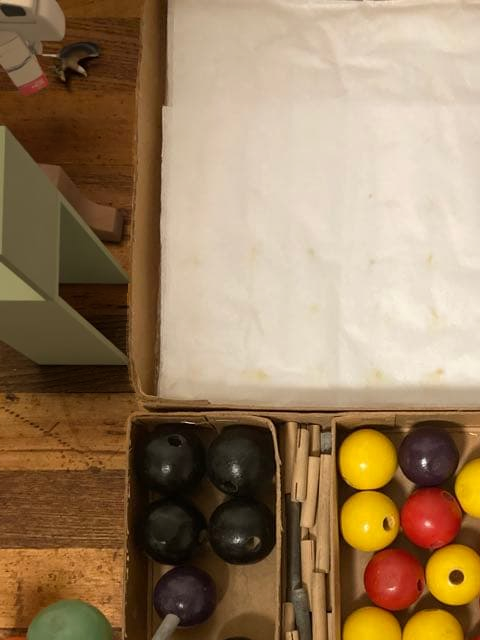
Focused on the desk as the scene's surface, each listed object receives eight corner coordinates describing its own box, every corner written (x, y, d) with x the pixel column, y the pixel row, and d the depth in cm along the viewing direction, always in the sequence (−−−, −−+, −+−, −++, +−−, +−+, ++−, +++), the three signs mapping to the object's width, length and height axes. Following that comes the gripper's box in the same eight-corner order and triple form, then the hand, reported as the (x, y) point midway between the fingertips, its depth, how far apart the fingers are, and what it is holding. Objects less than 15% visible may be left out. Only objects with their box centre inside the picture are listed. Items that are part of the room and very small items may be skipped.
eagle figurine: (81, 97, 151) (111, 56, 150) (48, 68, 146) (79, 24, 144) (67, 85, 156) (96, 45, 155) (33, 56, 150) (63, 14, 149)
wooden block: (124, 218, 151) (88, 168, 133) (121, 243, 151) (84, 195, 133) (75, 212, 151) (32, 161, 133) (71, 236, 151) (28, 188, 133)
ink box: (50, 85, 136) (19, 37, 124) (23, 98, 135) (-11, 50, 123) (27, 39, 136) (-6, -14, 124) (0, 52, 136) (-37, 0, 124)
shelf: (38, 364, 149) (-134, 253, 101) (40, 276, 150) (-128, 124, 102) (128, 364, 150) (1, 254, 101) (130, 277, 151) (5, 125, 102)
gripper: (-107, 5, 117) (-56, 68, 130) (42, 8, 117) (77, 70, 131) (-106, -38, 117) (-54, 29, 131) (43, -35, 118) (78, 32, 131)
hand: (13, 50), depth 131 cm, fingers closed on ink box, 6 cm apart
